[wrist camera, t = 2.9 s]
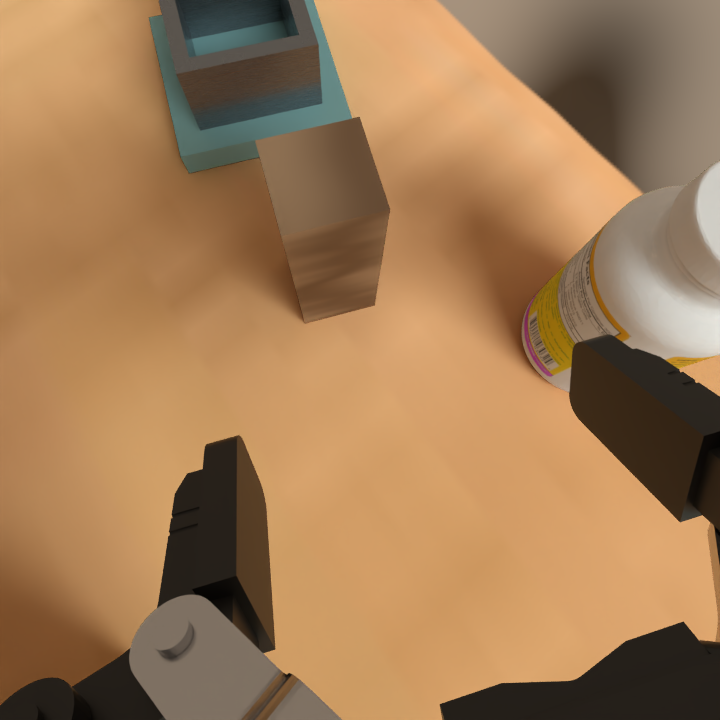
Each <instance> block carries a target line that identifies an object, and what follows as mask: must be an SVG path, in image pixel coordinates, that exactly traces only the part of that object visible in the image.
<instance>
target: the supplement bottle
mask: <svg viewBox="0 0 720 720" xmlns="http://www.w3.org/2000/svg"><path fill="white" fill-rule="evenodd" d="M606 334H610V335H613V336H615V337H616V338H617V339H619V340H620V341H622V342H623V343H625V344H626V345H627V346H629V347H630V348H632V349H635V348H637V349H640V350H643V351H645V352H648V353H651V354H654V355H657V356H660V357H661V358H663V359H664V360H666V361H667V362H669V363H670V364H672V365H673V366H675V367H676V368H678V369H679V368H682V367H685V366H688V365H691V364H694V363H697V362H699V361H702V360H706V359H709V358H712V357H715V356H718V355H720V160H719V161H717V162H715V163H714V164H712V165H711V166H710V167H708V168H707V169H706V170H705V171H704V172H703V173H701V174H700V175H699V176H698V177H696V178H695V179H694V180H692V181H691V182H690V183H688V184H687V185H679V186H670V187H665V188H660V189H656V190H653V191H651V192H648V193H646V194H643V195H641V196H639V197H638V198H636V199H634V200H632V201H631V202H630V203H628V204H627V205H626V206H624V207H623V208H622V209H621V210H620V211H619V212H618V213H617V214H616V215H615V216H613V217H612V218H611V219H610V220H609V221H608V222H607V223H606V224H605V225H604V226H603V228H602V229H601V230H600V231H599V232H598V233H597V234H596V235H595V236H594V237H593V238H592V239H591V240H590V241H589V242H588V243H587V244H586V245H585V246H584V247H583V248H582V249H581V250H580V251H579V252H578V253H577V254H576V255H575V256H574V257H573V258H572V259H571V260H570V261H569V262H568V263H567V264H566V265H565V266H564V267H563V268H562V269H560V270H559V271H558V272H557V273H556V275H555V276H553V277H552V278H551V279H550V281H549V282H548V283H546V284H545V286H544V287H543V288H542V289H541V290H540V291H539V292H538V293H537V294H536V295H535V296H534V297H533V299H532V300H531V302H530V303H529V305H528V307H527V309H526V311H525V314H524V317H523V321H522V341H523V346H524V349H525V352H526V355H527V357H528V359H529V361H530V362H531V364H532V365H533V367H534V368H535V370H536V371H537V372H538V373H539V374H540V375H541V376H542V377H543V378H544V379H545V380H547V381H548V382H549V383H551V384H552V385H554V386H556V387H558V388H560V389H562V390H564V391H567V392H569V391H570V377H571V363H572V351H573V347H574V345H575V344H576V343H577V342H581V341H584V340H588V339H591V338H595V337H599V336H602V335H606Z"/></svg>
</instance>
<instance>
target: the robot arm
mask: <svg viewBox="0 0 720 720" xmlns="http://www.w3.org/2000/svg"><path fill="white" fill-rule="evenodd" d="M569 397H570V403H571V406H572V409H573V411H574V413H575V415H576V416H577V417H578V419H579V420H580V421H581V422H582V423H583V424H584V425H585V426H586V427H587V428H588V429H589V430H590V431H591V432H592V433H593V434H594V435H595V436H596V437H597V438H598V439H599V440H600V441H601V442H602V443H603V444H604V445H605V446H606V447H607V448H608V449H609V450H610V451H611V452H612V453H613V455H614V456H615V457H616V458H617V459H618V460H619V461H620V462H621V463H622V464H623V465H624V466H625V467H626V468H627V469H628V470H629V471H630V472H631V473H632V474H633V475H634V476H635V477H636V478H637V479H638V480H639V481H640V482H641V483H642V484H643V485H644V486H645V487H646V488H647V489H648V490H649V491H650V492H651V493H652V494H653V495H654V496H655V497H656V498H657V499H658V500H659V501H660V502H661V503H662V504H663V505H664V506H665V507H666V508H667V509H668V510H669V511H670V512H671V514H672V515H673V516H674V517H675V518H676V519H677V520H678V521H679V522H682V521H685V520H689V519H692V518H695V517H698V516H701V515H703V516H704V517H705V518H706V519H707V520H709V521H710V525H709V528H708V541H709V549H710V556H711V564H712V572H713V580H714V587H715V595H716V603H717V611H718V627H717V635H716V642H712V641H701V640H700V641H699V640H698V639H697V638H696V636H695V635H694V634H693V633H692V632H691V630H690V629H689V628H688V627H687V625H686V624H685V623H684V622H681V623H678V624H675V625H672V626H669V627H666V628H663V629H660V630H657V631H654V632H651V633H649V634H646V635H643V636H640V637H637V638H634V639H631V640H628V641H625V642H624V643H623V644H622V645H620V646H619V647H618V648H616V649H615V650H614V651H613V652H611V653H610V654H609V655H608V656H606V657H605V658H604V659H602V660H601V661H600V662H599V663H597V664H596V665H595V666H593V667H592V668H591V669H590V670H588V671H587V672H586V673H585V674H583V675H582V676H581V677H579V678H577V679H575V680H572V681H559V682H527V683H501V684H498V685H495V686H492V687H489V688H486V689H483V690H481V691H478V692H475V693H472V694H469V695H466V696H463V697H460V698H457V699H454V700H451V701H448V702H445V703H442V704H440V709H441V714H442V719H443V720H720V397H719V396H718V395H716V394H715V393H714V392H712V391H711V390H709V389H708V388H706V387H705V386H703V385H702V384H700V383H695V380H694V379H693V378H691V377H690V376H688V375H687V374H685V373H684V372H681V373H680V371H679V369H678V368H676V367H675V366H673V365H672V364H670V363H669V362H667V361H666V360H664V359H663V358H661V357H660V356H657V355H654V354H651V353H648V352H645V351H643V350H640V349H637V348H635V349H632V348H630V347H629V346H627V345H626V344H625V343H623V342H622V341H620V340H619V339H617V338H616V337H615V336H613V335H610V334H606V335H602V336H599V337H595V338H591V339H588V340H584V341H581V342H577V343H576V344H575V345H574V347H573V351H572V363H571V377H570V391H569ZM172 517H173V518H172V519H171V523H170V530H169V532H170V536H168V543H167V549H166V556H165V562H164V569H163V576H162V582H161V589H160V595H159V602H158V606H157V609H156V610H154V611H153V612H152V613H151V614H150V615H149V616H148V617H147V618H146V620H145V621H144V622H143V623H142V625H141V626H140V628H139V629H138V631H137V633H136V635H135V637H134V639H133V642H132V645H131V648H130V649H129V650H127V651H126V652H125V653H124V654H123V655H121V656H120V657H118V658H117V659H115V660H114V661H112V662H111V663H109V664H108V665H106V666H104V667H103V668H101V669H100V670H98V671H97V672H95V673H93V674H92V675H90V676H89V677H87V678H85V679H84V680H82V681H81V682H79V683H78V684H76V685H74V686H73V687H71V686H70V685H69V684H68V683H67V682H65V681H64V680H62V679H59V678H44V679H41V680H37V681H35V682H33V683H30V684H28V685H26V686H25V687H23V688H21V689H20V690H18V691H17V692H16V693H14V694H13V695H11V696H10V697H9V698H8V699H7V700H6V701H5V702H3V703H2V704H1V705H0V720H342V719H341V718H340V717H339V716H338V715H336V714H335V713H334V712H333V711H332V710H331V709H330V708H329V707H328V706H327V705H326V704H325V703H324V702H323V701H322V700H321V699H320V698H319V697H318V696H317V695H316V694H315V693H314V692H313V691H312V690H310V689H309V688H308V687H307V686H306V685H305V684H304V683H303V682H302V681H301V680H299V679H298V678H297V677H296V676H294V675H293V674H290V673H288V675H286V674H285V673H283V672H282V671H281V670H280V669H278V668H277V667H276V666H275V665H274V664H273V663H272V662H271V661H270V660H269V659H268V658H267V657H266V656H265V655H264V654H263V653H265V652H268V651H272V650H275V637H274V621H273V606H272V590H271V574H270V558H269V542H268V527H267V511H266V503H265V497H264V493H263V489H262V486H261V483H260V481H259V478H258V476H257V473H256V471H255V468H254V466H253V464H252V461H251V459H250V456H249V454H248V451H247V449H246V446H245V444H244V442H243V440H242V438H241V436H239V435H238V436H234V437H231V438H227V439H224V440H220V441H216V442H213V443H209V444H206V446H205V451H204V462H203V469H202V470H198V471H195V472H191V473H188V474H187V475H186V476H185V478H184V480H183V481H182V483H181V485H180V486H179V488H178V490H177V491H176V493H175V497H174V503H173V510H172Z"/></svg>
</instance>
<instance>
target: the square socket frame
mask: <svg viewBox="0 0 720 720" xmlns="http://www.w3.org/2000/svg"><path fill="white" fill-rule="evenodd" d="M159 4H160V8H161V12H162V16H163V21H164V25H165V29H166V33H167V38H168V42H169V46H170V50H171V54H172V59H173V63H174V67H175V71H176V75H177V77H178V80H179V82H180V84H181V87H182V89H183V91H184V94H185V96H186V98H187V101H188V103H189V105H190V108H191V110H192V112H193V115H194V117H195V119H196V122H197V124H198V127H199V129H200V131H201V130H206V129H210V128H215V127H219V126H224V125H228V124H233V123H237V122H242V121H246V120H251V119H255V118H260V117H264V116H269V115H273V114H278V113H282V112H287V111H291V110H296V109H300V108H305V107H309V106H314V105H319V104H322V89H321V74H320V59H319V44H318V41H317V38H316V35H315V32H314V29H313V25H312V22H311V19H310V16H309V13H308V10H307V7H306V4H305V1H304V0H159ZM282 20H283V23H284V26H285V29H286V32H287V36H288V37H286V38H281V39H276V40H272V41H267V42H262V43H257V44H252V45H248V46H243V47H238V48H233V49H228V50H224V51H219V52H214V53H209V54H204V55H199V56H196V53H195V49H194V45H193V41H192V39H194V38H199V37H204V36H209V35H214V34H219V33H224V32H228V31H233V30H238V29H243V28H248V27H253V26H258V25H263V24H267V23H272V22H277V21H282Z"/></svg>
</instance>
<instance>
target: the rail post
mask: <svg viewBox="0 0 720 720" xmlns="http://www.w3.org/2000/svg"><path fill="white" fill-rule="evenodd" d="M255 142H256V146H257V150H258V153H259V157H260V161H261V164H262V168H263V172H264V175H265V179H266V183H267V187H268V190H269V194H270V198H271V201H272V205H273V209H274V212H275V216H276V220H277V223H278V227H279V231H280V235H281V238H282V242H283V245H284V249H285V253H286V256H287V260H288V264H289V267H290V271H291V274H292V278H293V282H294V285H295V289H296V293H297V296H298V300H299V304H300V307H301V311H302V314H303V318H304V322H305V323H309V322H313V321H317V320H320V319H324V318H328V317H332V316H336V315H339V314H343V313H347V312H351V311H355V310H359V309H362V308H366V307H370V306H374V305H375V299H376V293H377V287H378V281H379V275H380V269H381V262H382V256H383V250H384V244H385V238H386V231H387V225H388V219H389V213H390V208H389V205H388V202H387V199H386V196H385V193H384V190H383V187H382V184H381V181H380V178H379V175H378V172H377V169H376V166H375V163H374V160H373V157H372V154H371V151H370V147H369V144H368V141H367V138H366V135H365V132H364V129H363V126H362V123H361V120H360V117H357V118H353V119H348V120H344V121H339V122H335V123H331V124H326V125H322V126H317V127H313V128H308V129H304V130H299V131H295V132H291V133H286V134H282V135H277V136H273V137H268V138H264V139H260V140H255Z"/></svg>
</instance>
